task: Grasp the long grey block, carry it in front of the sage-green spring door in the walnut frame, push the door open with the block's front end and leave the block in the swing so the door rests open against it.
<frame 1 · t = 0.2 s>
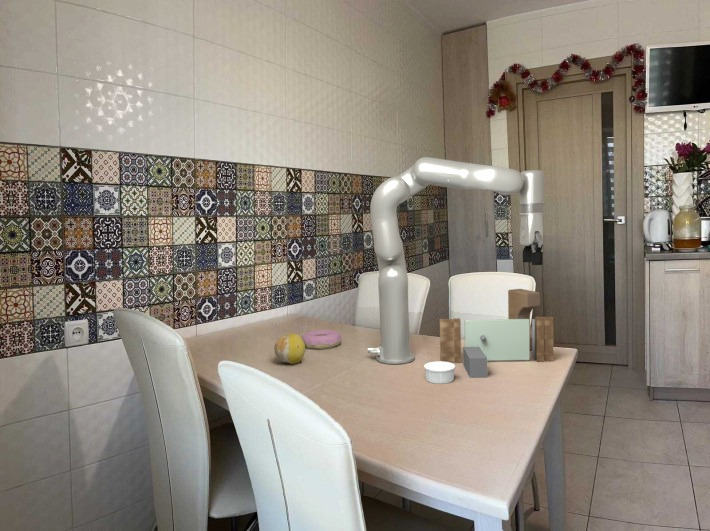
hand: (532, 263, 166), 31 cm above the table, fingers open, 9 cm apart
grey block: (474, 371, 157), on the table
ramekin: (439, 380, 150), on the table
donut: (321, 346, 197), on the table
fruit: (290, 363, 173), on the table
door: (500, 340, 165), point 7 cm above the table, hinge at 0.0°
frame: (533, 360, 166), on the table
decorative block: (524, 348, 183), on the table
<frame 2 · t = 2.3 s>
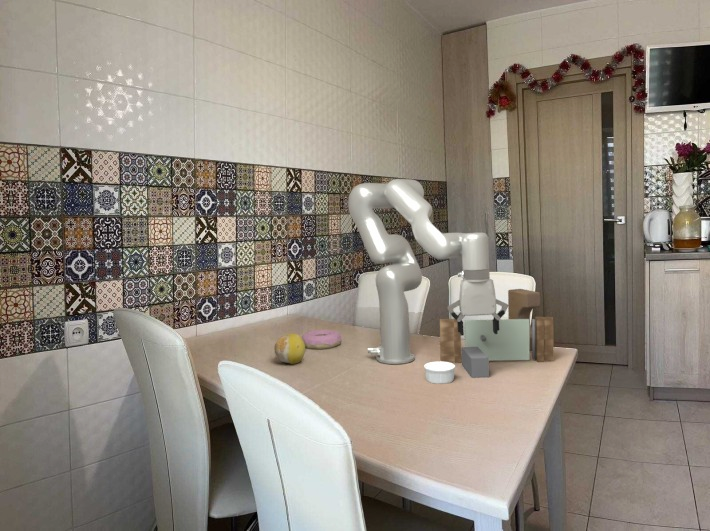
hand: (478, 333, 151), 13 cm above the table, fingers open, 9 cm apart
nothing on the table moved.
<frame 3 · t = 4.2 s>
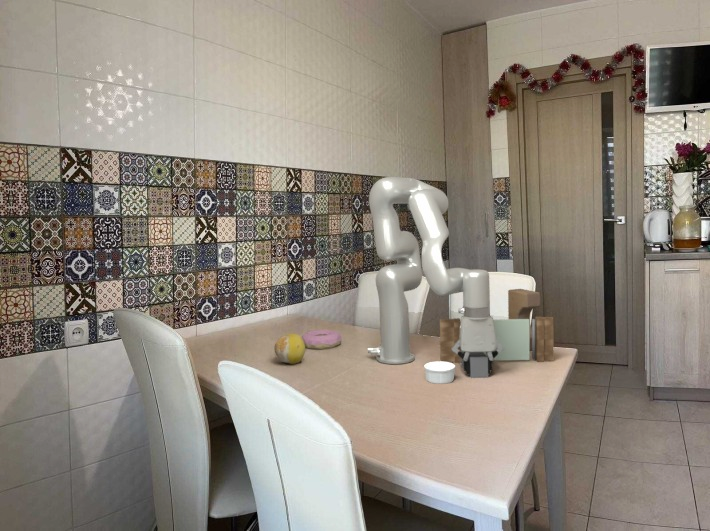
hand: (477, 372, 153), 1 cm above the table, fingers closed on grey block, 5 cm apart
grey block: (474, 371, 157), on the table, touching gripper
everything else where it was.
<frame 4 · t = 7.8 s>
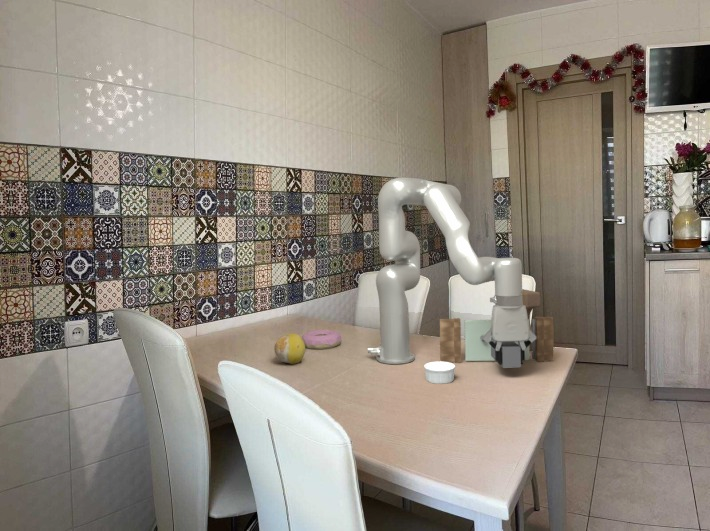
hand: (510, 362, 150), 4 cm above the table, fingers closed on grey block, 5 cm apart
grey block: (505, 361, 155), point 3 cm above the table, touching gripper
everything else where it was.
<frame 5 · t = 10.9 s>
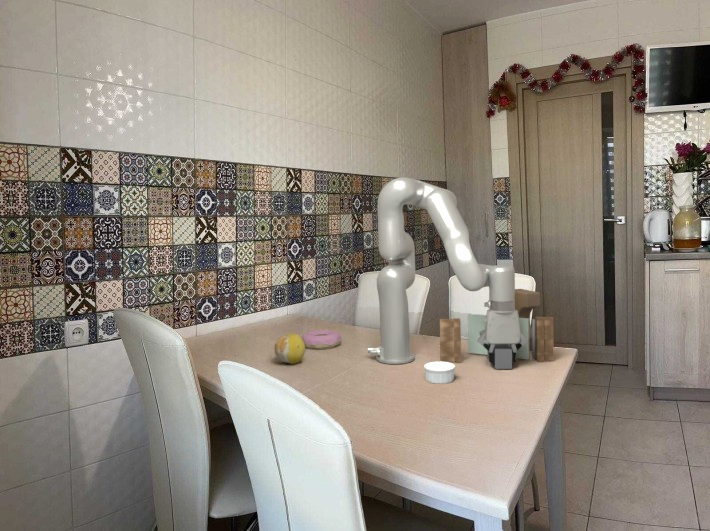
hand: (502, 363, 160), 1 cm above the table, fingers closed on grey block, 5 cm apart
grey block: (499, 362, 164), on the table, touching door, gripper
door: (499, 337, 170), point 7 cm above the table, hinge at 27.0°, touching grey block
everything else where it was.
when the fingers open (1 cm above the table, at t = 11.6 s): grey block stays where it is, on the table.
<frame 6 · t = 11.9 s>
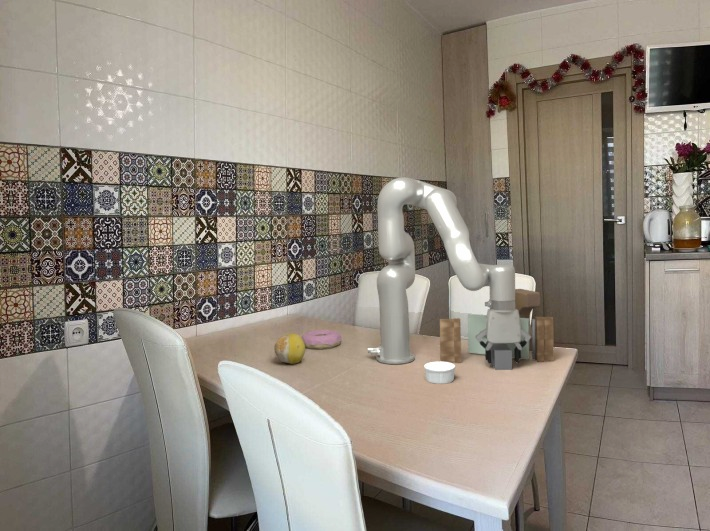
hand: (503, 361, 159), 2 cm above the table, fingers open, 7 cm apart
grey block: (499, 364, 164), on the table
door: (499, 337, 170), point 7 cm above the table, hinge at 27.4°
everything else where it was.
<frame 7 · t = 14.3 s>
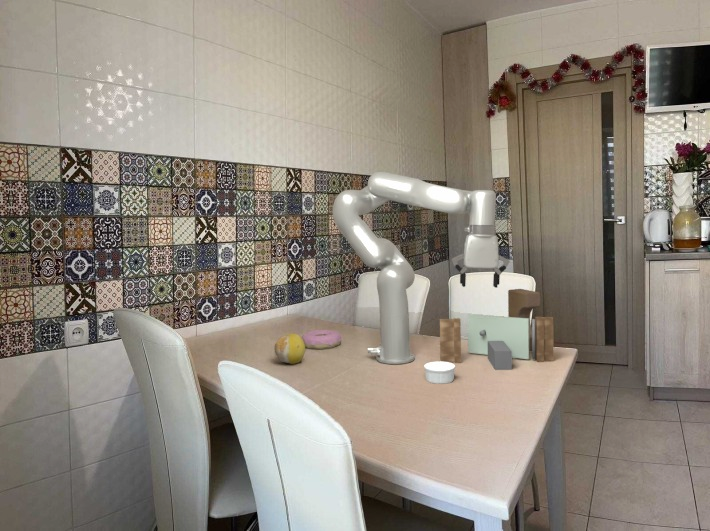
hand: (479, 286, 160), 25 cm above the table, fingers open, 9 cm apart
nothing on the table moved.
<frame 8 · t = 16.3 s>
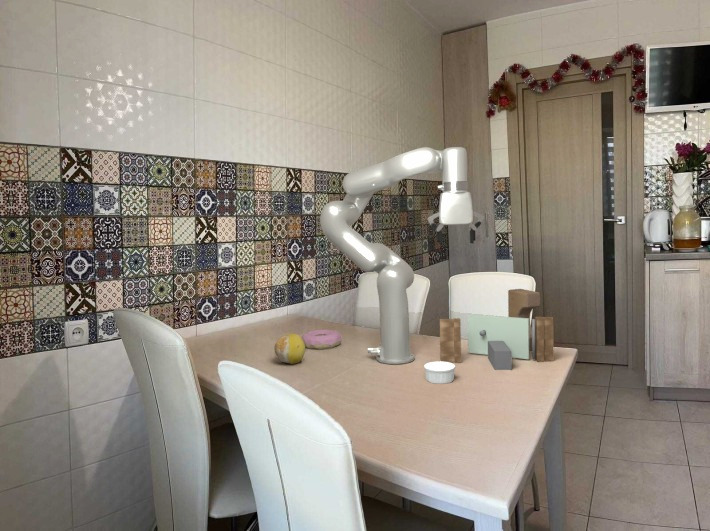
hand: (456, 243, 162), 38 cm above the table, fingers open, 9 cm apart
nothing on the table moved.
at the end: door at +27° (first picture: +0°); grey block inside the target area (0.7 cm from its centre), on the table; the gripper is holding nothing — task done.
